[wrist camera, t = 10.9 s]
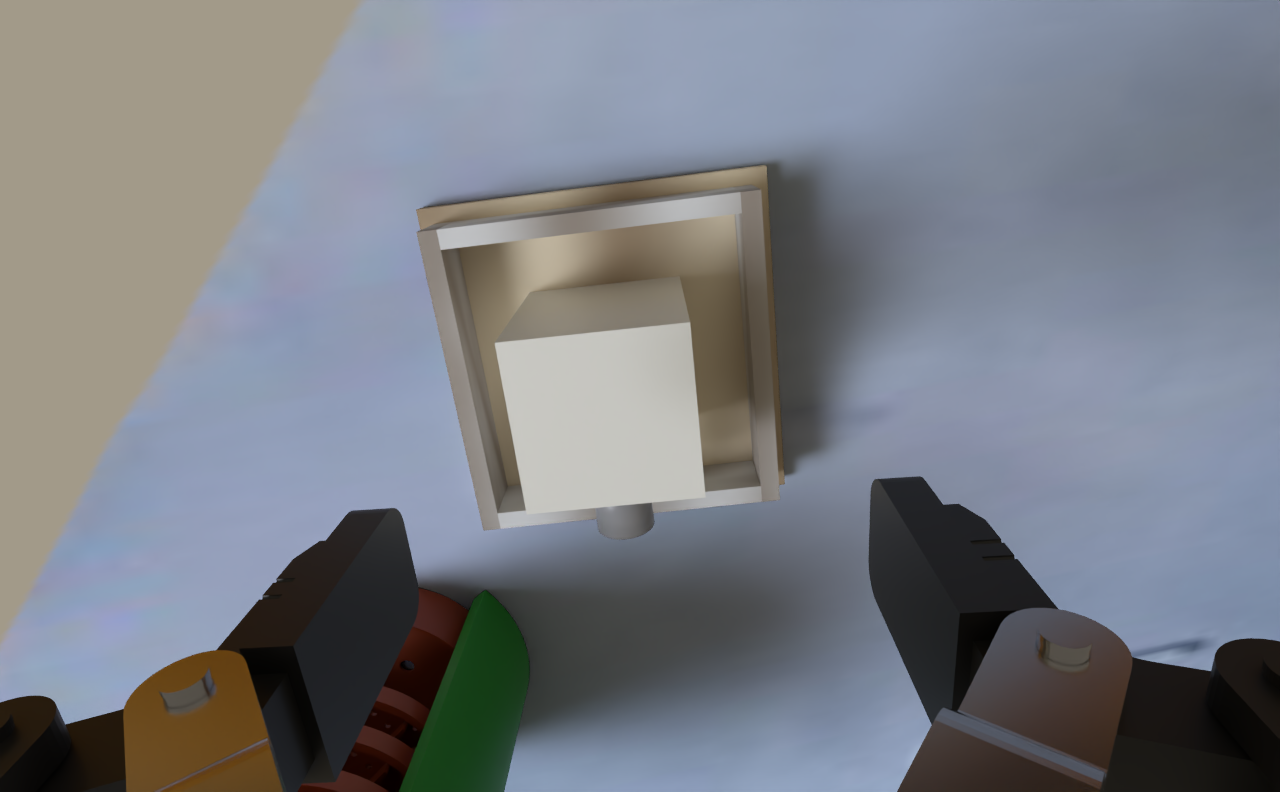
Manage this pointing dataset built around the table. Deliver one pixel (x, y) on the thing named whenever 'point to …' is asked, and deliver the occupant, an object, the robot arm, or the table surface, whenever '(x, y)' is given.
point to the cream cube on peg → (604, 401)
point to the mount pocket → (603, 254)
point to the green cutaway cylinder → (444, 705)
